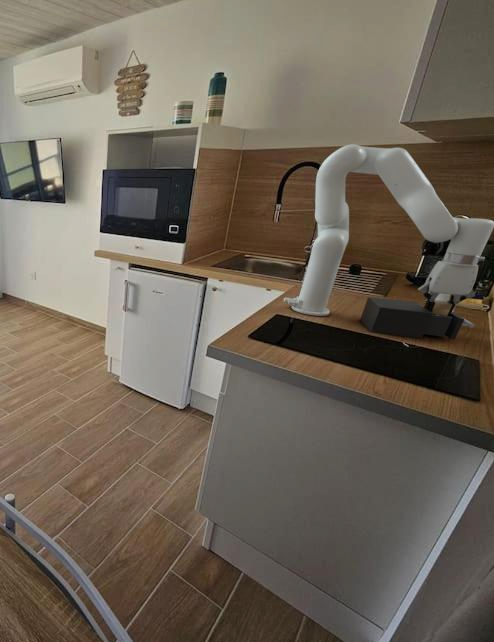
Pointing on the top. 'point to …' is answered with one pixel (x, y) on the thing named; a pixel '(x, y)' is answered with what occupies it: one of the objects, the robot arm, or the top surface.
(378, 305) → the dark grey rectangular box
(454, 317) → the drawer
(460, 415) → the top surface
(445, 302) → the block
